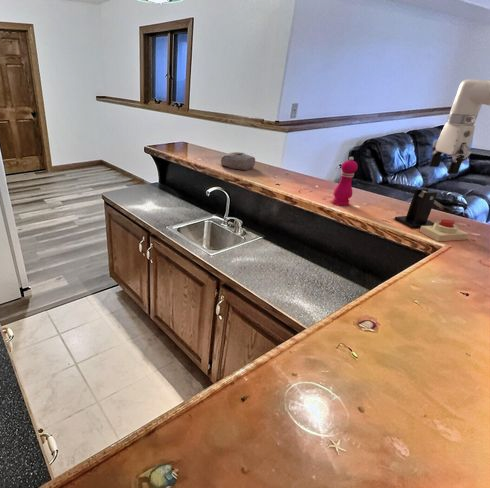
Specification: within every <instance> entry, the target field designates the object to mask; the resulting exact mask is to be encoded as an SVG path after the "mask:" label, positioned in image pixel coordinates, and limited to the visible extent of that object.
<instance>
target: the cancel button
mask: <svg viewBox="0 0 490 488" xmlns="http://www.w3.org/2000/svg"><path fill="white" fill-rule="evenodd" d="M440 221H441V222H440V225H441V226H444V227H450V228H451V227H453V225H455V222H454V221H453V220H452V219H451V220H450V219H445V218H443V219H441V220H440Z"/></svg>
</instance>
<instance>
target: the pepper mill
mask: <svg viewBox="0 0 490 488" xmlns="http://www.w3.org/2000/svg"><path fill="white" fill-rule="evenodd" d="M358 168H359V166H358V163H357V161H355V158H354V156H350V157H348V160H345V161H343V162H342V163H341V167H340V169H341V172H340V176H341V177H340V180H339V183H338V184H337V185H336V187H335V188H334V190H333V196H334V197H333V199H332V204H334V205H336V206H341V207H343V206H344V207H345V206H349V203H350V199H351V198H352V197H353V187H352V179H353V178H354V177H355V172H356V171H357V170H358Z"/></svg>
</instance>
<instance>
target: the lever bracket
mask: <svg viewBox="0 0 490 488" xmlns="http://www.w3.org/2000/svg"><path fill="white" fill-rule="evenodd" d="M422 190H424V191H426V192H425V193H424V195H423V198H420V197H419V196H418V195H419V194H420V192H421V191H422ZM437 195H438V192H437V191H429V188H415V190H414V192H413V195H412V198H411V201H410V205H409V207H408V210H407V213H406V215H402V216H401V215H399V216H394V219H393V220H395V221H396V222H399V223H400V224H402V225H404V226H406V227H408V228H410V229H412V230H416V229H420V228H421V226H431V225H434V223H435V222H433V221H432V220H429V217H430V215H431V212H432V209H433V207H434V205H435V204H434V201H435V200H436V198H437Z"/></svg>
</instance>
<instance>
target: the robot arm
mask: <svg viewBox="0 0 490 488" xmlns="http://www.w3.org/2000/svg"><path fill="white" fill-rule="evenodd" d="M482 105H486V106H490V80H488V79H477V78H467V79H464V80H462V81H461V82H460V84H459V86H458V88H457V91H456V94H455V97H454V100H453V103H452V106H451V108H450V111H449V113H448V117H447V120H446V122H445V124H444V126H443V128H442V130H441V131H440V134H439V137H438V139H437V140H433V142H432V148H431V150H432V153H431V155H432V156H431V159H430V162H429V164H428V167H431V168H438V167H439V166H440V163H441V161H442V159H443V154H445V155H449V156H451V158H452V161H451V162H450V164H449V166H448V169H447V172H446V173H447V174H448V175H457V174H458V173H459V170H460V168H461V165H462V163H464V162H465V161H466V160H467V159H468V157H469V156H470V155H471V154H472V150H471V149H470V147H471V144H472V141H473V137H474V134H475V127H476V126H475V123H476V121H477V118H478V115H479V113H480V111H481V108H482Z"/></svg>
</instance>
